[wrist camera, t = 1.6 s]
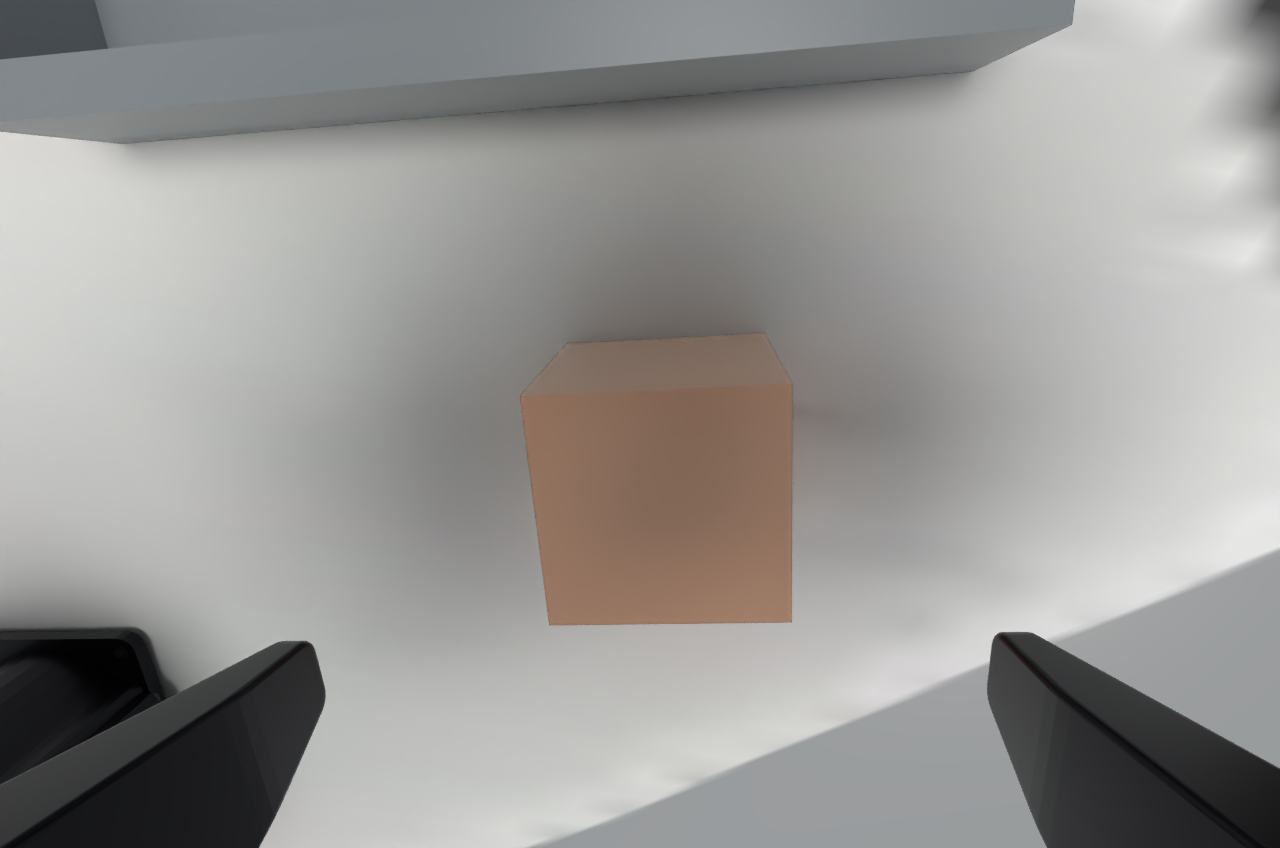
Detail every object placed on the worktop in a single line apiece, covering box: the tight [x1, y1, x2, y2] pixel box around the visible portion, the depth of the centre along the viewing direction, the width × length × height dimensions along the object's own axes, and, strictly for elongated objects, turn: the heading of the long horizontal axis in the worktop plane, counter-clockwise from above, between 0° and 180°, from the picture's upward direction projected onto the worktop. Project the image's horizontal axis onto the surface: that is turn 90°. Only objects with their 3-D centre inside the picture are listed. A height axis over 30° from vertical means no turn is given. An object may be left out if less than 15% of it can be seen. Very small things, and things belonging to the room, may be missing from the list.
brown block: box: [520, 333, 793, 625], centre depth 15 cm, size 5×5×5 cm
